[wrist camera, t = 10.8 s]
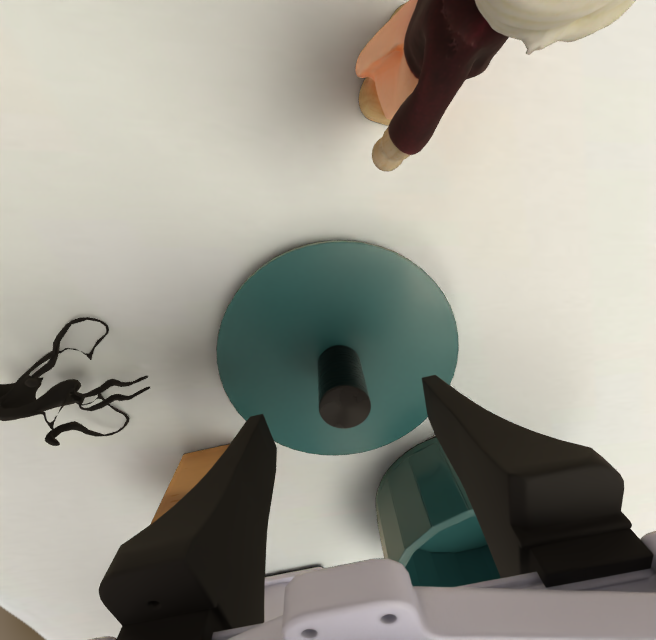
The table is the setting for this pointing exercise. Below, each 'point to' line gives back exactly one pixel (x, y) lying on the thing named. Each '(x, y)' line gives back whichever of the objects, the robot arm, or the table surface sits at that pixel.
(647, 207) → the table surface
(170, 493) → the maple block
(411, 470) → the pot
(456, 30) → the grandmother figurine
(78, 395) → the creature
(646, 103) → the table surface
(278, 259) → the pot lid
